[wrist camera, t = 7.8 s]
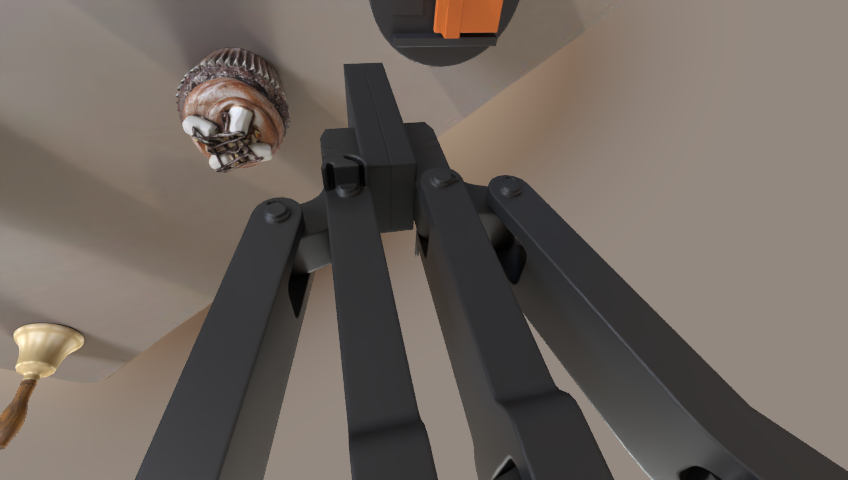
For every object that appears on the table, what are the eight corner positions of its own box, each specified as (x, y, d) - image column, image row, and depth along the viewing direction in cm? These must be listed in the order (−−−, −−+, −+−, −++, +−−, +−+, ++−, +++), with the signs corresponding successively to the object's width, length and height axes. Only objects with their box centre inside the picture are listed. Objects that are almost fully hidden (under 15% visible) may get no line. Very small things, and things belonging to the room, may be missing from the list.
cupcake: (309, 107, 44) (311, 162, 37) (231, 143, 45) (220, 203, 38) (251, 19, 37) (241, 69, 30) (161, 65, 38) (132, 122, 31)
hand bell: (4, 342, 61) (-57, 457, 50) (27, 316, 58) (-32, 432, 47) (70, 356, 66) (27, 462, 56) (95, 332, 63) (55, 440, 53)
